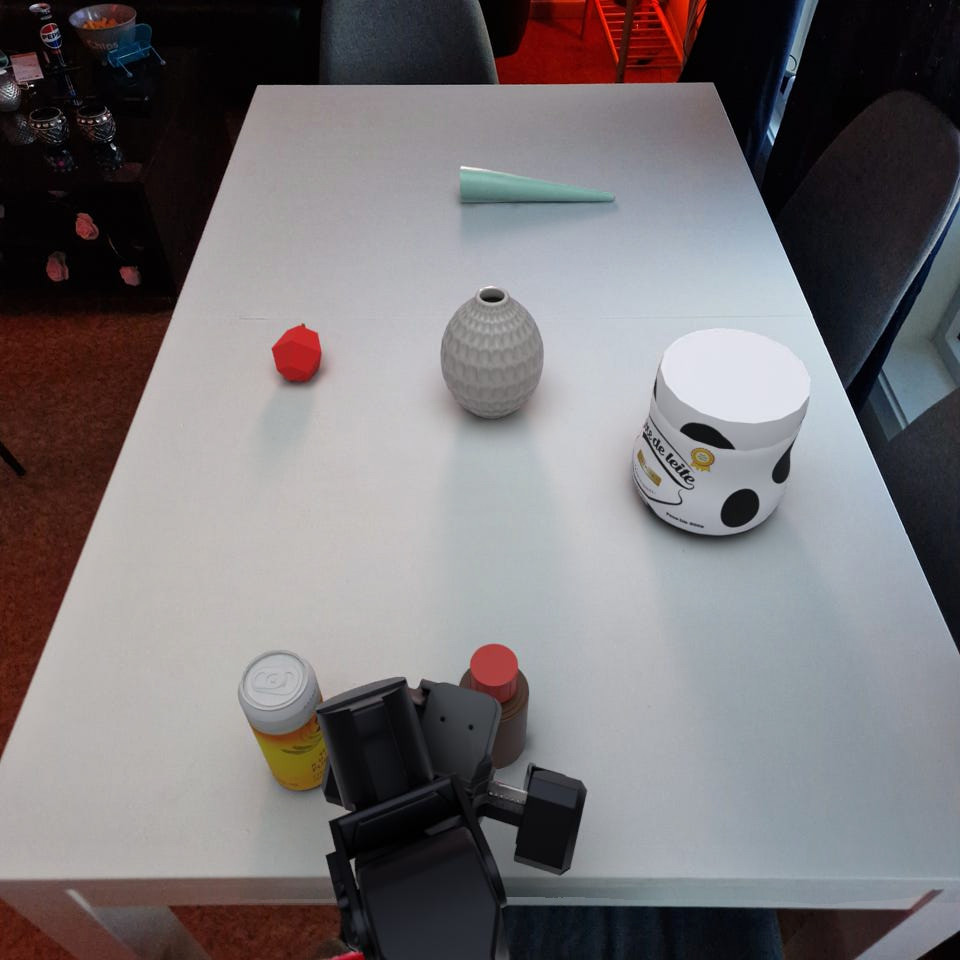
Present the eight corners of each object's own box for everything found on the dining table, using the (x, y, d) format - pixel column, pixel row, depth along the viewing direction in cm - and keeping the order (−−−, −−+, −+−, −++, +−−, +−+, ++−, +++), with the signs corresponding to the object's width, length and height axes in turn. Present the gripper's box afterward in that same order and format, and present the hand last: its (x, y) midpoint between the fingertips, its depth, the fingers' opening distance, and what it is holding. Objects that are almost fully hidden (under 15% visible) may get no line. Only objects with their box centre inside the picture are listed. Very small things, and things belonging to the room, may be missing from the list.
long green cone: (619, 178, 137) (459, 175, 138) (615, 209, 141) (460, 205, 142) (617, 163, 141) (461, 160, 142) (614, 193, 145) (462, 190, 146)
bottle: (525, 770, 74) (531, 701, 65) (459, 768, 74) (455, 700, 65) (525, 708, 78) (530, 636, 69) (462, 707, 78) (458, 634, 69)
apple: (305, 364, 105) (318, 311, 108) (258, 365, 107) (272, 313, 110) (327, 391, 111) (339, 340, 114) (283, 391, 113) (295, 341, 116)
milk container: (601, 506, 95) (619, 388, 82) (666, 420, 105) (692, 303, 92) (742, 573, 89) (787, 457, 75) (798, 476, 98) (846, 358, 85)
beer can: (334, 794, 73) (307, 715, 62) (266, 793, 73) (226, 714, 62) (343, 729, 77) (319, 644, 66) (278, 729, 77) (243, 644, 66)
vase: (559, 415, 106) (569, 307, 94) (472, 449, 102) (470, 341, 90) (509, 360, 114) (511, 253, 101) (426, 390, 109) (418, 283, 97)
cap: (517, 705, 67) (518, 686, 65) (469, 704, 67) (469, 685, 65) (517, 663, 70) (518, 643, 68) (471, 662, 70) (470, 643, 68)
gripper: (595, 755, 50) (610, 687, 65) (312, 675, 53) (389, 629, 69) (556, 929, 50) (580, 822, 66) (280, 838, 54) (363, 756, 69)
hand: (476, 752), depth 67 cm, fingers open, 9 cm apart
